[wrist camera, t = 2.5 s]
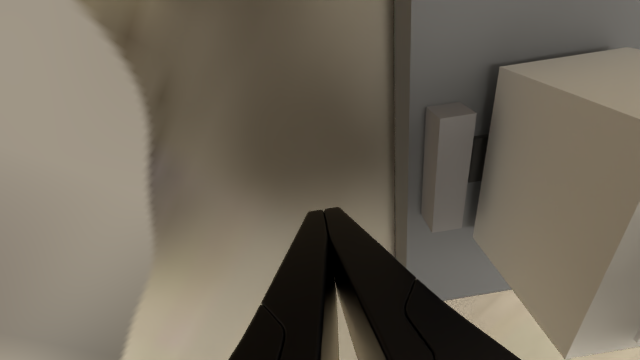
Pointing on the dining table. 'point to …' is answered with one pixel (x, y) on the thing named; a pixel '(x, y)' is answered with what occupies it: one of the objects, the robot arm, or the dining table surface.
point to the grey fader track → (470, 115)
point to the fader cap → (568, 196)
